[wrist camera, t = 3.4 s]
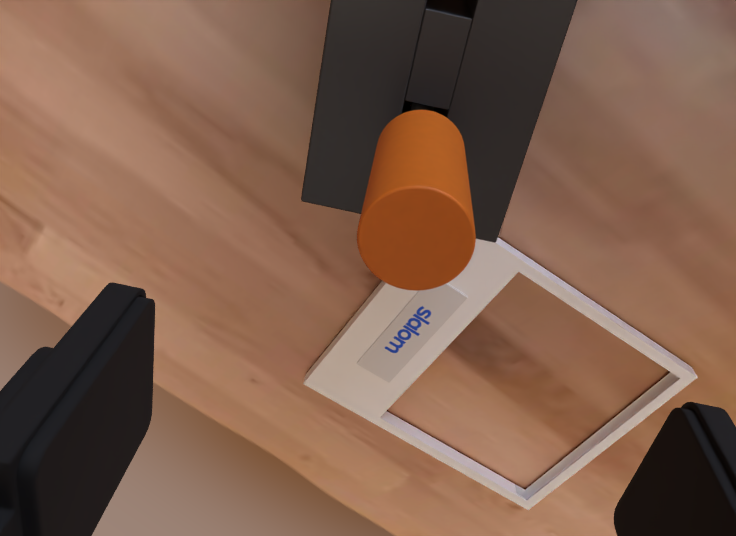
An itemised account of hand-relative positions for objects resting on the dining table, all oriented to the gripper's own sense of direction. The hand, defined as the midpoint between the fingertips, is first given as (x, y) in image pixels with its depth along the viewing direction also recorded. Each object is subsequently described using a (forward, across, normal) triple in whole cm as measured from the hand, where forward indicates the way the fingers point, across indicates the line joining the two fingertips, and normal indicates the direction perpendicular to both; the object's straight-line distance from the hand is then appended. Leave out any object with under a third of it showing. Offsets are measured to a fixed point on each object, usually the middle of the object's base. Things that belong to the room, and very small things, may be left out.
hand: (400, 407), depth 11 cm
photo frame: (+23, -8, +16) cm, 29 cm away
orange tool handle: (+23, 0, 0) cm, 23 cm away
